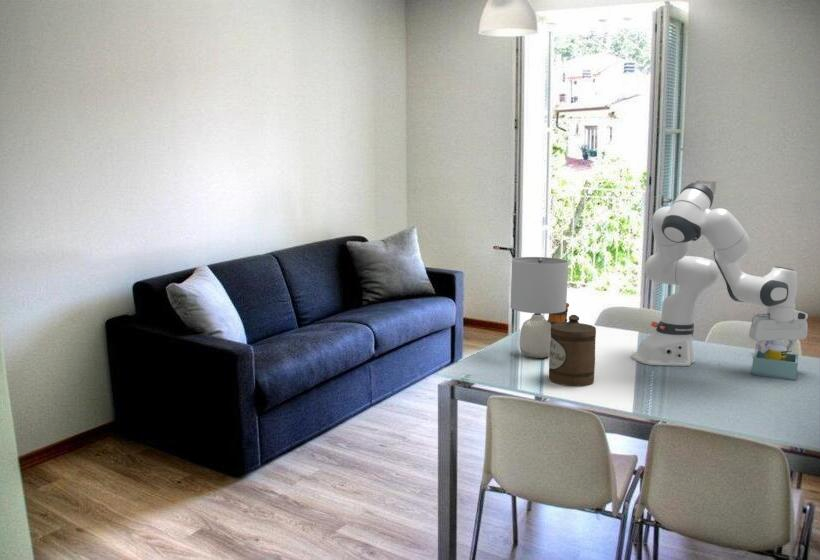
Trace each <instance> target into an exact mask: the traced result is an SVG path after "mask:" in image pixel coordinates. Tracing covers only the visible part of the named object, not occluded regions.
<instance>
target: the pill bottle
mask: <svg viewBox="0 0 820 560" xmlns="http://www.w3.org/2000/svg"><path fill="white" fill-rule="evenodd" d="M770 342H771V343H770V344H769V345H767V347H766V348H768V352H767V353H766V358H765V359H772V360H779V361H786V356H787V353H788V352H787V347H786V346H787V345H785V344H786V340H785V339H779V340H770Z"/></svg>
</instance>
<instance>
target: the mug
mask: <svg viewBox="0 0 820 560" xmlns="http://www.w3.org/2000/svg"><path fill="white" fill-rule="evenodd" d="M569 306H570V304H569V303H568V302H566V311H564V312H560V313H552V314H548V317H547V321H548V322H550V323H551V325H552V324H555V323H564V322H568V318H567V317H568V311H569Z"/></svg>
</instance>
